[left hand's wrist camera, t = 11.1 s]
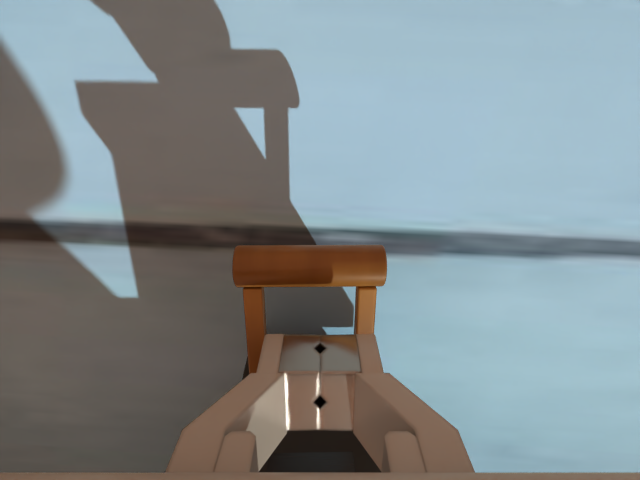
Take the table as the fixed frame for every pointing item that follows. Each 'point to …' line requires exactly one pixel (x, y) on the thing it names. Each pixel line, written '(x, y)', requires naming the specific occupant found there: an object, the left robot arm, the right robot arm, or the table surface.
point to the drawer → (254, 274)
